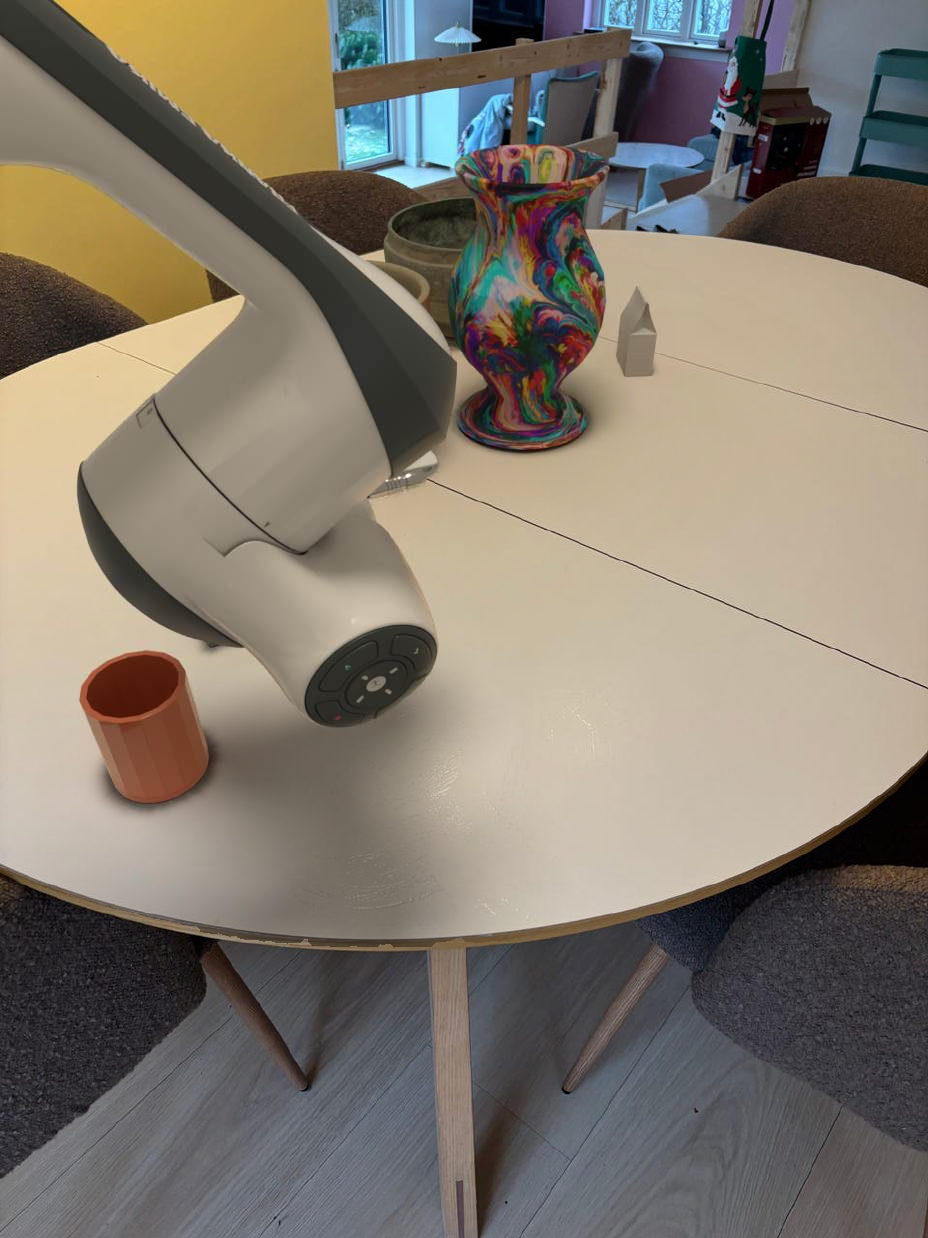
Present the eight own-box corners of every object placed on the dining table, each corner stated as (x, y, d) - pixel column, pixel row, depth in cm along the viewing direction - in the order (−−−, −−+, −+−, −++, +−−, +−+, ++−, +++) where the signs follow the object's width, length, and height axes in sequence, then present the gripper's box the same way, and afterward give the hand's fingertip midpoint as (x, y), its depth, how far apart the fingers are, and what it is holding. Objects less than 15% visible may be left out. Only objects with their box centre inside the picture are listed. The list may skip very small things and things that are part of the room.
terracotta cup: (108, 810, 67) (73, 729, 62) (116, 738, 73) (85, 658, 67) (208, 794, 68) (183, 713, 63) (209, 724, 74) (186, 644, 68)
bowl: (385, 286, 149) (378, 190, 140) (539, 279, 151) (543, 184, 141) (392, 370, 125) (385, 260, 115) (576, 361, 127) (585, 252, 117)
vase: (584, 464, 105) (610, 191, 86) (434, 447, 108) (425, 181, 89) (601, 394, 119) (626, 145, 99) (467, 381, 122) (466, 137, 102)
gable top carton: (624, 376, 123) (633, 304, 116) (616, 355, 128) (623, 285, 122) (651, 375, 123) (661, 303, 116) (641, 354, 128) (650, 284, 122)
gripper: (448, 430, 54) (374, 344, 64) (99, 506, 48) (75, 399, 58) (450, 517, 58) (380, 424, 68) (128, 597, 52) (101, 482, 62)
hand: (237, 413), depth 63 cm, fingers open, 8 cm apart
